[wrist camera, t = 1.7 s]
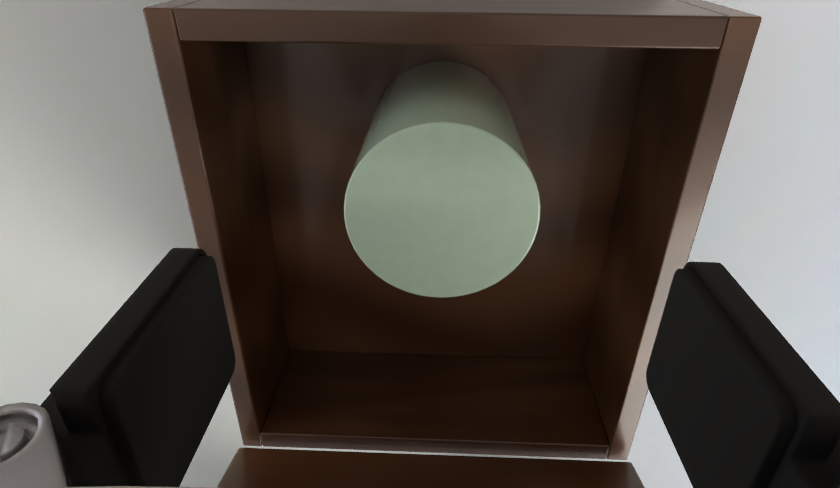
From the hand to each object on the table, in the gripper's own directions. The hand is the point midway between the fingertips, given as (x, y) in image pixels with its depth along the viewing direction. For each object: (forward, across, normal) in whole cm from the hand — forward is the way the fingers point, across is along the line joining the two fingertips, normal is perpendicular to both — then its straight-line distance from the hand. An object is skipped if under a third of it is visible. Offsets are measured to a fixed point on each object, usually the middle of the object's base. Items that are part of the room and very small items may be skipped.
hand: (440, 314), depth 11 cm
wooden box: (+12, 0, +3) cm, 12 cm away
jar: (+11, 0, 0) cm, 11 cm away
